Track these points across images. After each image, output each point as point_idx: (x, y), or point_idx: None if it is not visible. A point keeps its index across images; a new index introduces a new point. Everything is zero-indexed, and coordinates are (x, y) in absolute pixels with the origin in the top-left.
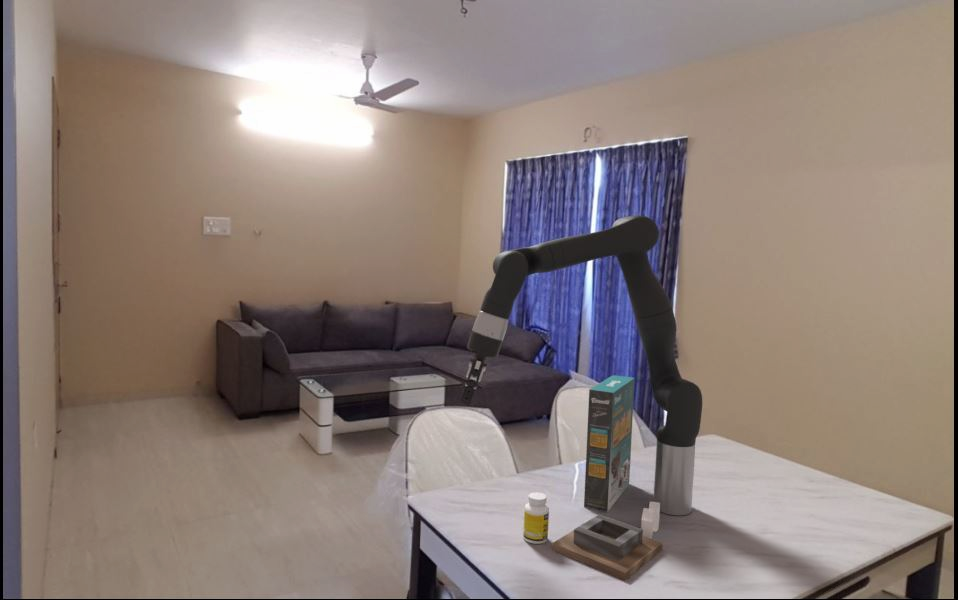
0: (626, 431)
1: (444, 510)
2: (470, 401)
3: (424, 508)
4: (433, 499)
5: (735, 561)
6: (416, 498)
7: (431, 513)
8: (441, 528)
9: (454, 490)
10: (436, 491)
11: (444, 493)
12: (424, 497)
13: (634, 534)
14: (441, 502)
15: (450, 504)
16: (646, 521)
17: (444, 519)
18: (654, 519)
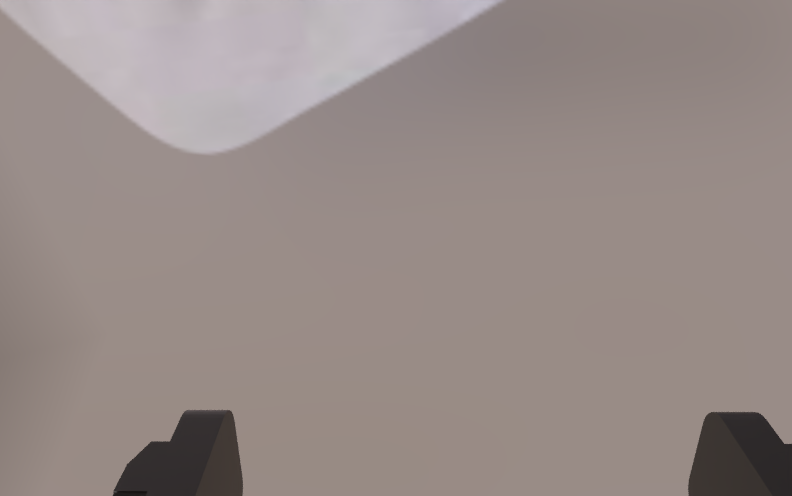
0: None
1: (292, 25)
2: (779, 441)
3: (291, 107)
4: (190, 87)
5: None
6: (203, 151)
7: (333, 74)
8: (469, 16)
9: (45, 6)
10: (96, 87)
11: (104, 49)
12: (182, 124)
13: None
14: (211, 49)
15: (220, 6)
16: None
17: (383, 14)
18: None
